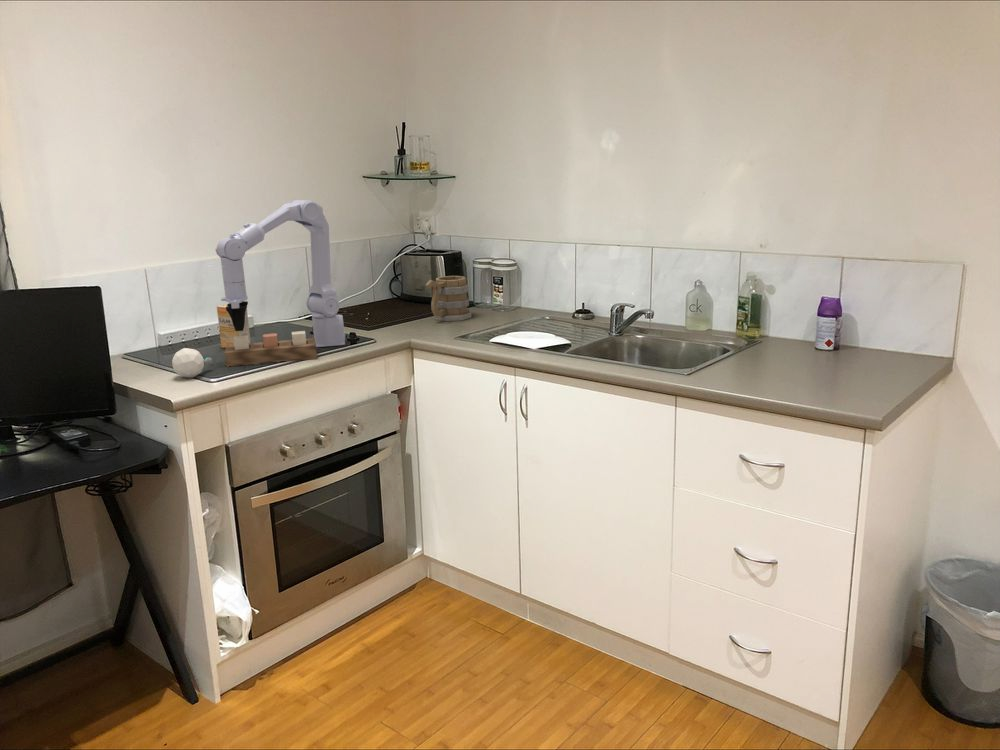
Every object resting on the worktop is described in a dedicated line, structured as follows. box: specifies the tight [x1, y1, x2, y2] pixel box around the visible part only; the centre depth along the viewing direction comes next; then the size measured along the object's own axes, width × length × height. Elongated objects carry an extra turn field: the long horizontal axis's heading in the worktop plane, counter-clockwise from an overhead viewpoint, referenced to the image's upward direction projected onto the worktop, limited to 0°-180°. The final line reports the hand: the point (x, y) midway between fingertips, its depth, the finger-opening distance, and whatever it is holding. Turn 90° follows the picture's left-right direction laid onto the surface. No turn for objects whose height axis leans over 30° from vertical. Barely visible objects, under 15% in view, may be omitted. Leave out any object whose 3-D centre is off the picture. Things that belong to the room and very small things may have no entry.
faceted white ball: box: [171, 347, 213, 379], centre depth 218 cm, size 8×8×12 cm
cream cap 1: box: [234, 336, 249, 350], centre depth 231 cm, size 4×4×4 cm
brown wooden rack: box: [224, 337, 318, 368], centre depth 233 cm, size 25×10×4 cm, turn 104°
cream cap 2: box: [291, 330, 307, 345], centre depth 234 cm, size 4×4×4 cm
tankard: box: [425, 275, 472, 322], centre depth 279 cm, size 20×13×15 cm, turn 144°
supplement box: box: [216, 303, 251, 349], centre depth 247 cm, size 8×5×13 cm, turn 62°
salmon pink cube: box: [262, 332, 279, 348], centre depth 233 cm, size 4×4×4 cm
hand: (239, 329), depth 230 cm, fingers open, 4 cm apart
